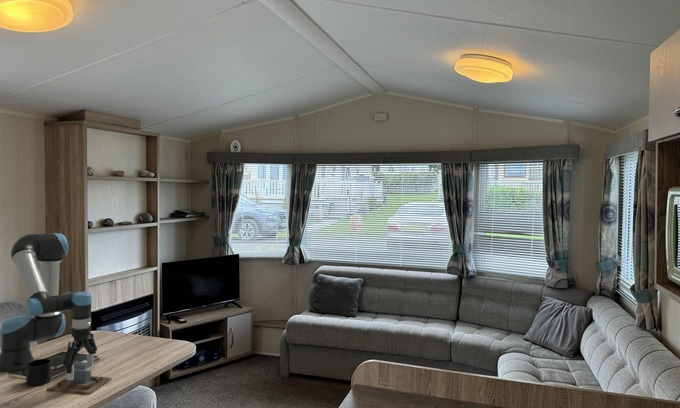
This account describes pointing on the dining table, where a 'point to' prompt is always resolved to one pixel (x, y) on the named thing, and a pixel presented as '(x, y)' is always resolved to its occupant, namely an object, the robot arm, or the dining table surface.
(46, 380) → the mug
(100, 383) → the tray
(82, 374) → the servo
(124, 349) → the dining table surface
